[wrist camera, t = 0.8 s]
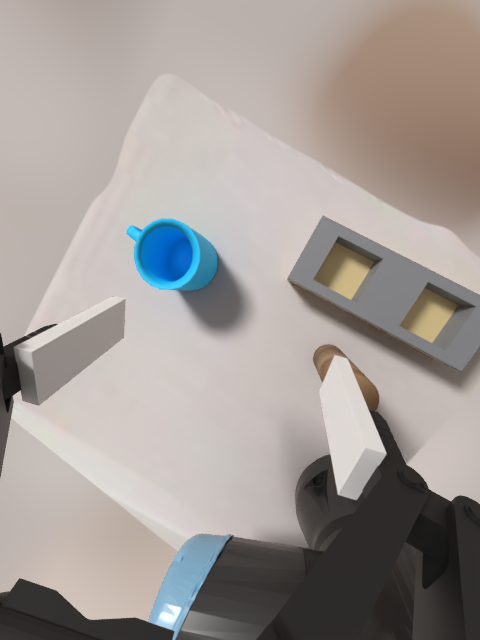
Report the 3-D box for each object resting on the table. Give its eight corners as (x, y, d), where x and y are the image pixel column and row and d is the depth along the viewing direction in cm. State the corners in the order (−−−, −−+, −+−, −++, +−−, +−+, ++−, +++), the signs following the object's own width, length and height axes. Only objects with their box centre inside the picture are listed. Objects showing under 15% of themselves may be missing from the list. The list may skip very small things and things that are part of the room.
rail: (474, 306, 33) (507, 309, 28) (436, 360, 34) (461, 371, 30) (317, 226, 35) (322, 215, 30) (287, 279, 37) (287, 277, 32)
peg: (343, 373, 37) (378, 421, 23) (313, 372, 37) (330, 419, 24) (343, 344, 36) (379, 376, 22) (313, 344, 37) (330, 375, 23)
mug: (228, 251, 38) (213, 240, 30) (200, 300, 39) (179, 303, 31) (158, 210, 39) (125, 189, 31) (134, 260, 40) (97, 252, 32)
